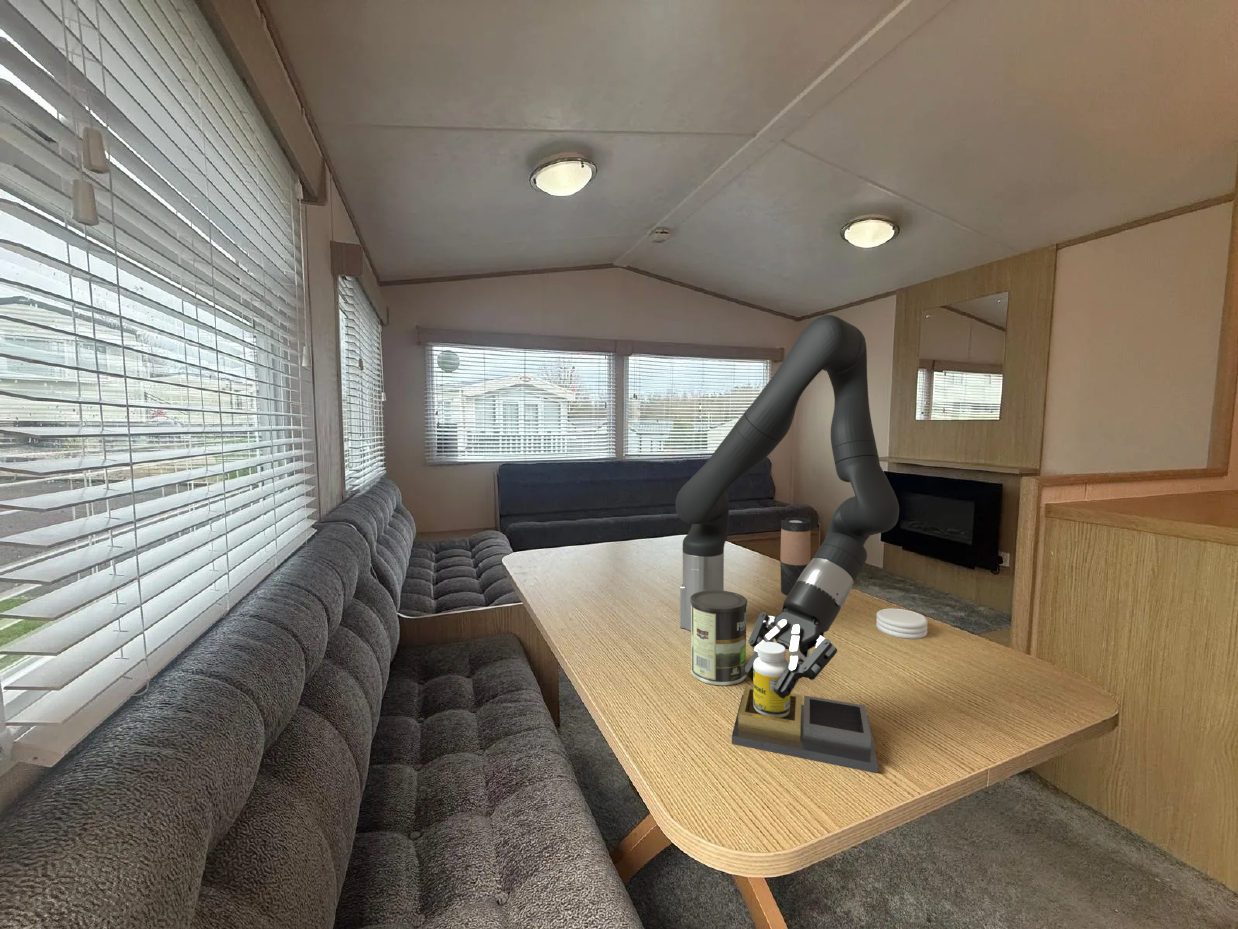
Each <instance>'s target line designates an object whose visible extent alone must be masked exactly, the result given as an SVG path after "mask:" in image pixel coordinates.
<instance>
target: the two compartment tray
mask: <svg viewBox="0 0 1238 929" xmlns="http://www.w3.org/2000/svg"><path fill="white" fill-rule="evenodd" d="M744 686H745V687H744V689H743V694H742V695H741V698H740V702H739V706H738V709H737V714H736V718H735V722H734V725H733V729H732V733H731V744H732V745H736V746H741V747H747V748H753V749H755V750H756V749H757V750H761V751H762V750H763V751H765V752H771V753H778V754H783V755H786V756H791V757H796V758H800V759H801V758H802V759H806V760H811V761H817V762H821V763H827V764H831V765H835V766H841V767H846V768H850V769H855V770H861V771H865V772H871V773H877V774H878V771H879V770H878V769H879V764H878V757H877V752H876V749H875V742H874V737H873V732H872V727H871V722H870V721H871V720H870V717H869V715H868V713H867V709H866V705H865V704H861V703H860V704H859V703H854V702H853V703H852V702H846V701H840V700H835V699H829V698H822V697H815V696H810V695H803V696H804V697H802V694H799V693H797V694H796V693H793V692H791V693H790V712H789V714H788V715H787V716H785V717H781V718H776V717H770V716H765V715H761V714H759V713H758V712H757V711H756V710H755V708H754V705H753V686H748V685H744ZM802 698H804V699H802ZM802 700H803V704H802Z"/></svg>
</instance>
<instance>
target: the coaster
mask: <svg viewBox="0 0 1238 929" xmlns="http://www.w3.org/2000/svg"><path fill="white" fill-rule="evenodd" d="M875 615H876V618H875V619H876V628H877V629H878V631H880V632H882V633H883V634H885V633H886V634H885V635H888V636H891V637H896V638H900V639H906V640H907V639H908V640H916V639H918V640H919V639H923V638H925V637H927V636H928V628H929V627H928V623H929V621H928V619H927V618H926V617H925V616H924V615H922V614H921V613H918V612H916V611H911V610H908V609H902V608H883V609H880V610H878V611H877V612H876V614H875Z"/></svg>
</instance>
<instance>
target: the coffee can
mask: <svg viewBox="0 0 1238 929" xmlns="http://www.w3.org/2000/svg"><path fill="white" fill-rule="evenodd" d="M690 602H691V631H690V642H691V643H690V646H691V648H690V651H691V652H690V656H691V657H690V658H691V659H690V663H691V664H690V667H691V668H690V673H691V675H692V676H693V678H695V679H696V680H698V681H700V682H702V683H705V684H708V685H711V686H733V685H738V684H739V683H741V682H743V681H744V680H745V679H746V678H747V676H746V675H745V674H744V672H745V666H746V665H747V606H748V598H746V597H745V596H743V595H742V594H740V593H736V592H733V591H728V590H724V591H721V590H709V591H701V592H697V593H695V594H693V595H692V596H691V597H690Z"/></svg>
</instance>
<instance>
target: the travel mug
mask: <svg viewBox="0 0 1238 929" xmlns="http://www.w3.org/2000/svg"><path fill="white" fill-rule="evenodd" d="M811 524H812V523H811V520H810V519H808V518H802V517H786V518H785V519H784V520H783V519H781V522H780V527H781V528H780V530H781V531H780V556H779V558H780V591H781V594H783V595H786V597H787V596H788V594H789V593H790V591H791V589H792V588H793V586H794V585H795V583H796V581H797V580H798V578H799V577H800V575H801V573H802V572H803V570H804V569H805V568H806V566H807V565H808V564H809V563H810V562H811V529H812V528H811V526H812V525H811Z"/></svg>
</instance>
